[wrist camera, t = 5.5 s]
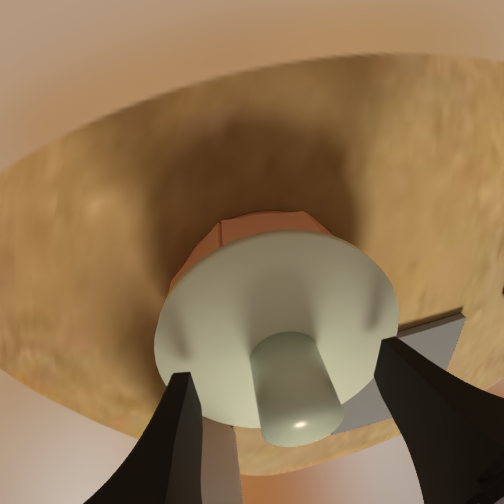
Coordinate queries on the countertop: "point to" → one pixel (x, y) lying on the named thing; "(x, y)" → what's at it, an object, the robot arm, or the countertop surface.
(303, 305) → the lid
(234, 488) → the beverage can
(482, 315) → the countertop surface
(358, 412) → the mat
